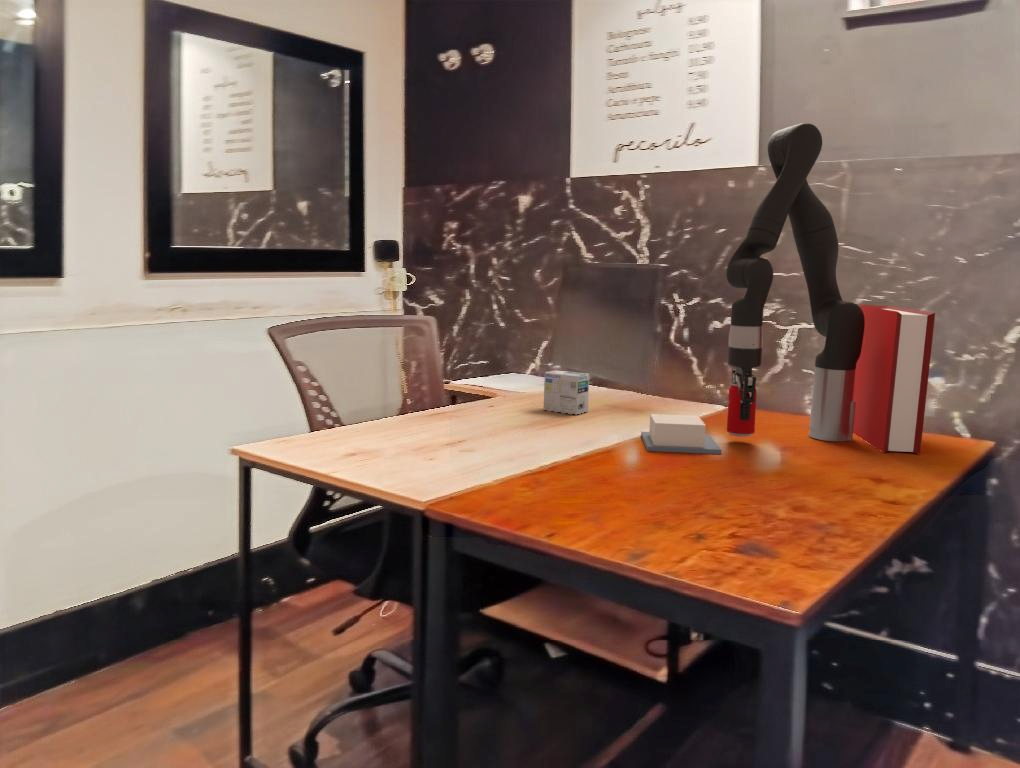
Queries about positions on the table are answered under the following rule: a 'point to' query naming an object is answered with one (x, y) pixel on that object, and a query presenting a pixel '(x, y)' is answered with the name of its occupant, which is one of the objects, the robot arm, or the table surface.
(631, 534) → the table surface
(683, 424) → the butter dish
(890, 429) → the book
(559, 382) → the light bulb box
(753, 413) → the beverage can
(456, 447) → the table surface
